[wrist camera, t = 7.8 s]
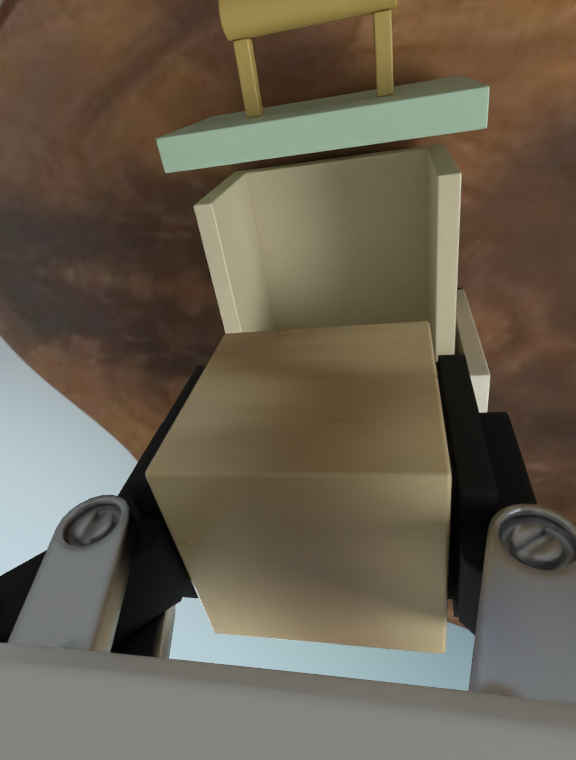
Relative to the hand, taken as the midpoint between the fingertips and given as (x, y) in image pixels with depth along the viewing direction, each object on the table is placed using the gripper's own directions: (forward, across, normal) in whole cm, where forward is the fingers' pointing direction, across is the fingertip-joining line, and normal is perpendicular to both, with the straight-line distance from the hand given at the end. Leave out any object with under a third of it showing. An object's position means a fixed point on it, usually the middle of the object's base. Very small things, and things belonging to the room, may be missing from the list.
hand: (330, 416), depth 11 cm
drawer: (+16, +1, -1) cm, 16 cm away
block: (0, 0, 0) cm, 0 cm away
